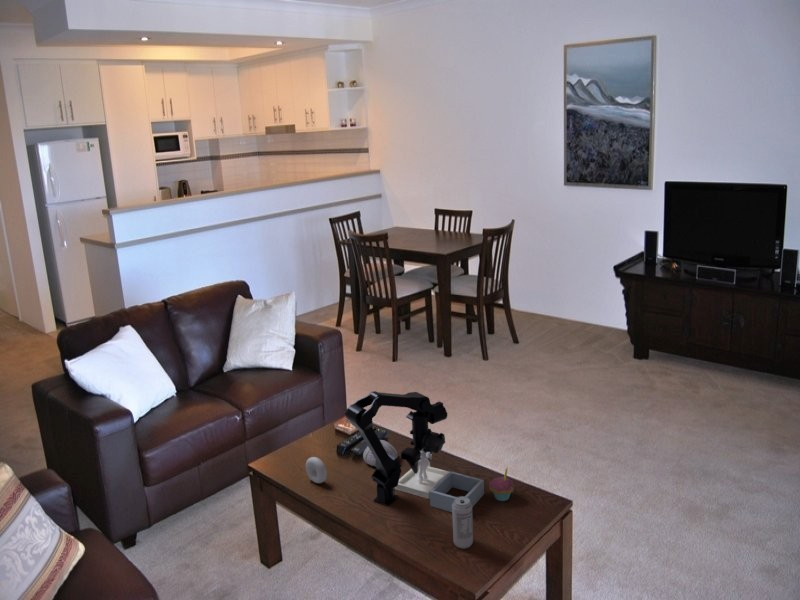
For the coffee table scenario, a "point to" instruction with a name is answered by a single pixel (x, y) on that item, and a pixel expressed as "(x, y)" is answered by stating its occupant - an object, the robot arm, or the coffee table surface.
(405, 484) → the tray
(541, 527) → the coffee table surface
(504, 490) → the cupcake
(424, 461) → the flower shoulder figurine
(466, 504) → the energy drink can
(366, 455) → the sea urchin shell
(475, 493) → the deep square frame
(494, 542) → the coffee table surface
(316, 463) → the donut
